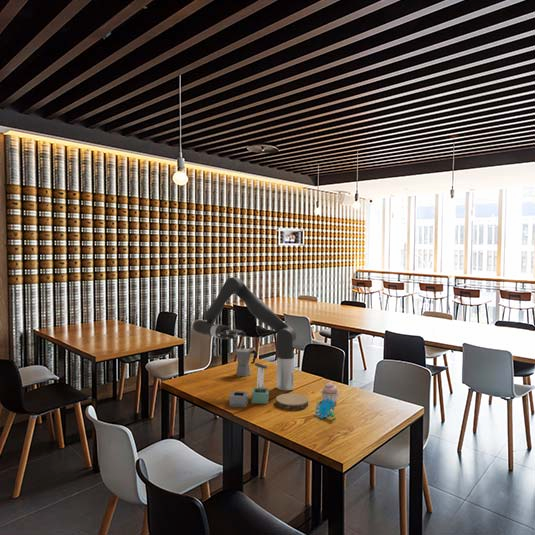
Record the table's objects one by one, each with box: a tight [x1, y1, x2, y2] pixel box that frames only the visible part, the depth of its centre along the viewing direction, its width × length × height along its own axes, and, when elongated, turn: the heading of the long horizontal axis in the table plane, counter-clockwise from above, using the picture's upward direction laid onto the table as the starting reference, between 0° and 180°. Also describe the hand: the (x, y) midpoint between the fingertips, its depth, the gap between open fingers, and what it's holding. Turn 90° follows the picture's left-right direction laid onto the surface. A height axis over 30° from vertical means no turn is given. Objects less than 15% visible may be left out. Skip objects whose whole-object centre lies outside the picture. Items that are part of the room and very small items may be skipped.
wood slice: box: [275, 393, 309, 411], centre depth 203 cm, size 16×16×3 cm
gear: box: [314, 398, 337, 420], centre depth 189 cm, size 11×6×10 cm
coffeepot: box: [233, 344, 258, 378], centre depth 251 cm, size 15×9×18 cm, turn 70°
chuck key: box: [254, 362, 268, 393], centre depth 207 cm, size 8×3×18 cm, turn 46°
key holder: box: [251, 387, 270, 405], centre depth 207 cm, size 8×8×5 cm
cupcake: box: [320, 381, 340, 404], centre depth 208 cm, size 9×9×10 cm
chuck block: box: [228, 390, 249, 408], centre depth 201 cm, size 8×8×5 cm
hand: (239, 335), depth 219 cm, fingers open, 8 cm apart
